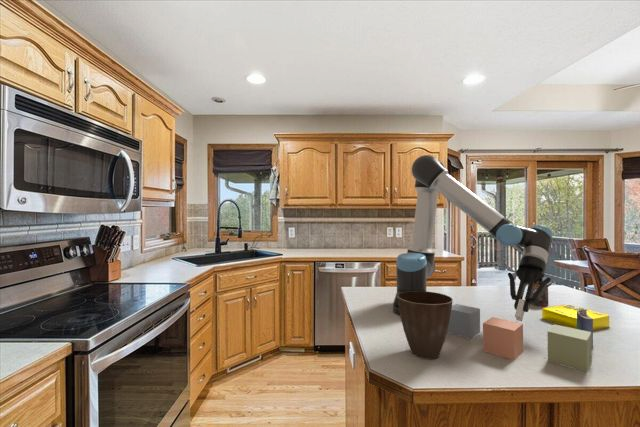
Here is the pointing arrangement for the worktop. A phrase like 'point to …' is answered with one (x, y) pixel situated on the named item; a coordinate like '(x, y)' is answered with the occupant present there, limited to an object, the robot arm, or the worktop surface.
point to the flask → (585, 322)
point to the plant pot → (425, 321)
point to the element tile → (573, 316)
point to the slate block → (464, 321)
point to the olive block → (570, 347)
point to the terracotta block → (503, 337)
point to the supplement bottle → (544, 298)
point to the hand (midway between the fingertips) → (518, 318)
